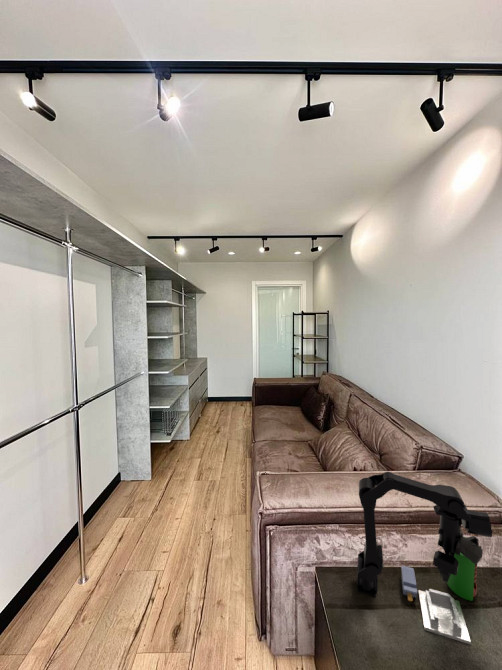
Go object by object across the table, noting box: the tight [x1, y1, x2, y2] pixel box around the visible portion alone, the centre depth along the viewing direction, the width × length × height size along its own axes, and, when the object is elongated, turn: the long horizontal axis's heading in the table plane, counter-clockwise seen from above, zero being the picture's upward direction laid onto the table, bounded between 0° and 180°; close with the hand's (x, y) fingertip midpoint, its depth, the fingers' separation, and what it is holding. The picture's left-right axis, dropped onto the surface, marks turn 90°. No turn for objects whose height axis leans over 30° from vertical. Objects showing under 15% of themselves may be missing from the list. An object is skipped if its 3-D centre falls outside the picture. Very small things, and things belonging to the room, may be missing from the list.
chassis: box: [417, 588, 472, 645], centre depth 97 cm, size 12×13×4 cm
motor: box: [446, 536, 478, 601], centre depth 106 cm, size 10×9×20 cm
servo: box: [400, 565, 418, 602], centre depth 107 cm, size 4×10×5 cm, turn 158°
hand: (447, 571), depth 99 cm, fingers open, 9 cm apart
